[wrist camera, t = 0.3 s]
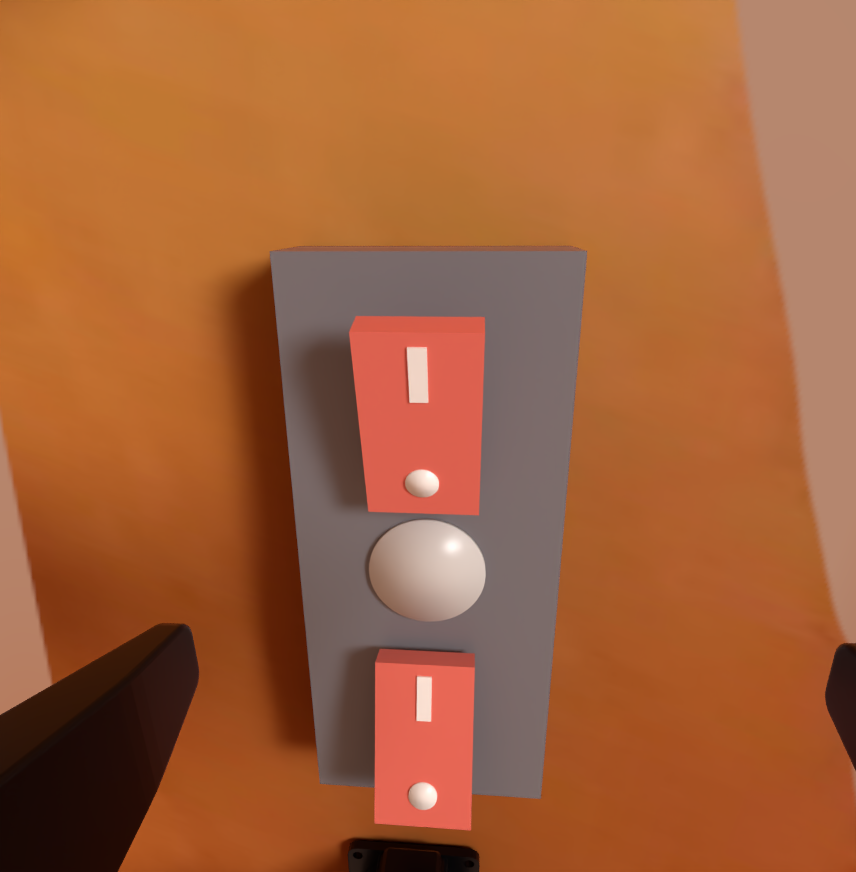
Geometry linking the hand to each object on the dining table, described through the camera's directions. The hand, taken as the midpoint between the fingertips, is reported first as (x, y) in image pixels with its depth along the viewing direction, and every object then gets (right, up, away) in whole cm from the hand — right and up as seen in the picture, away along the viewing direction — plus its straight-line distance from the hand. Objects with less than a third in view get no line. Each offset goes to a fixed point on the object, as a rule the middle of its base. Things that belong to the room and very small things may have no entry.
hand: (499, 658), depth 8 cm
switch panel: (-1, -2, +16) cm, 16 cm away
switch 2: (-1, -8, +13) cm, 15 cm away
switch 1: (-1, +4, +9) cm, 10 cm away
